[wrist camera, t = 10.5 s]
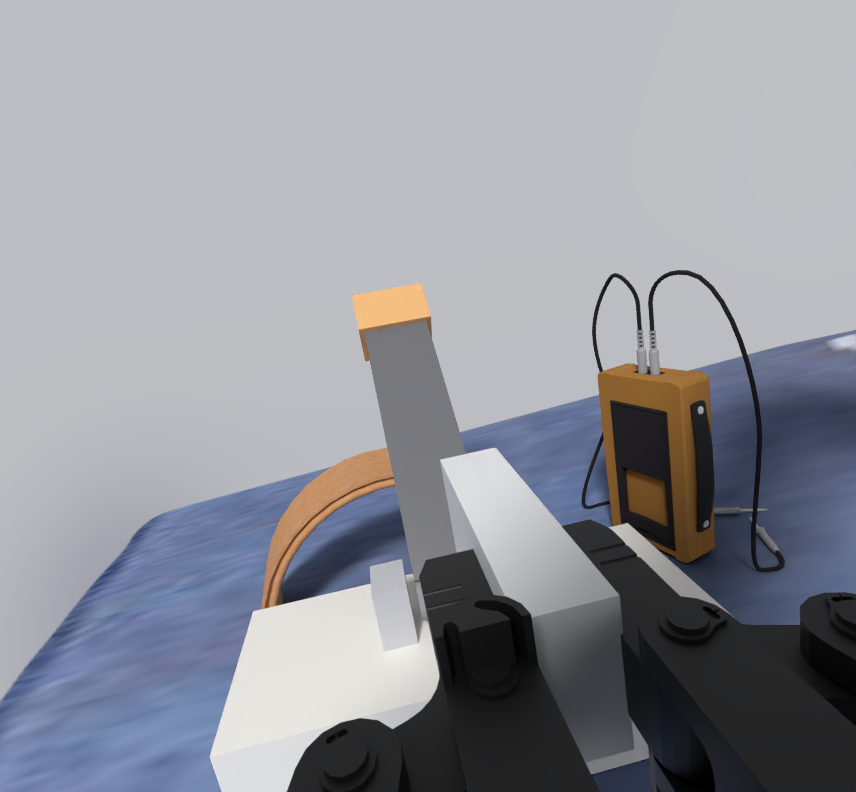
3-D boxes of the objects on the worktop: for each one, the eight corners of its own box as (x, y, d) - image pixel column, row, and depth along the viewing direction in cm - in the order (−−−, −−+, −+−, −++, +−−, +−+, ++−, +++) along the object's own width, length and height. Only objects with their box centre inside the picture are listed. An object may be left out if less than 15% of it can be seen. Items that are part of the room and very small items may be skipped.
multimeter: (837, 537, 36) (843, 238, 31) (743, 596, 32) (733, 265, 27) (660, 476, 49) (645, 260, 44) (578, 512, 45) (552, 279, 40)
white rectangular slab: (635, 609, 32) (623, 476, 30) (739, 732, 23) (734, 556, 21) (279, 700, 30) (239, 563, 28) (249, 871, 21) (187, 692, 19)
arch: (539, 567, 38) (522, 441, 36) (264, 649, 35) (225, 515, 32) (509, 532, 44) (493, 421, 42) (270, 600, 40) (237, 482, 38)
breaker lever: (507, 605, 26) (422, 316, 37) (514, 589, 23) (420, 283, 34) (417, 627, 25) (358, 328, 36) (414, 614, 23) (352, 295, 34)
